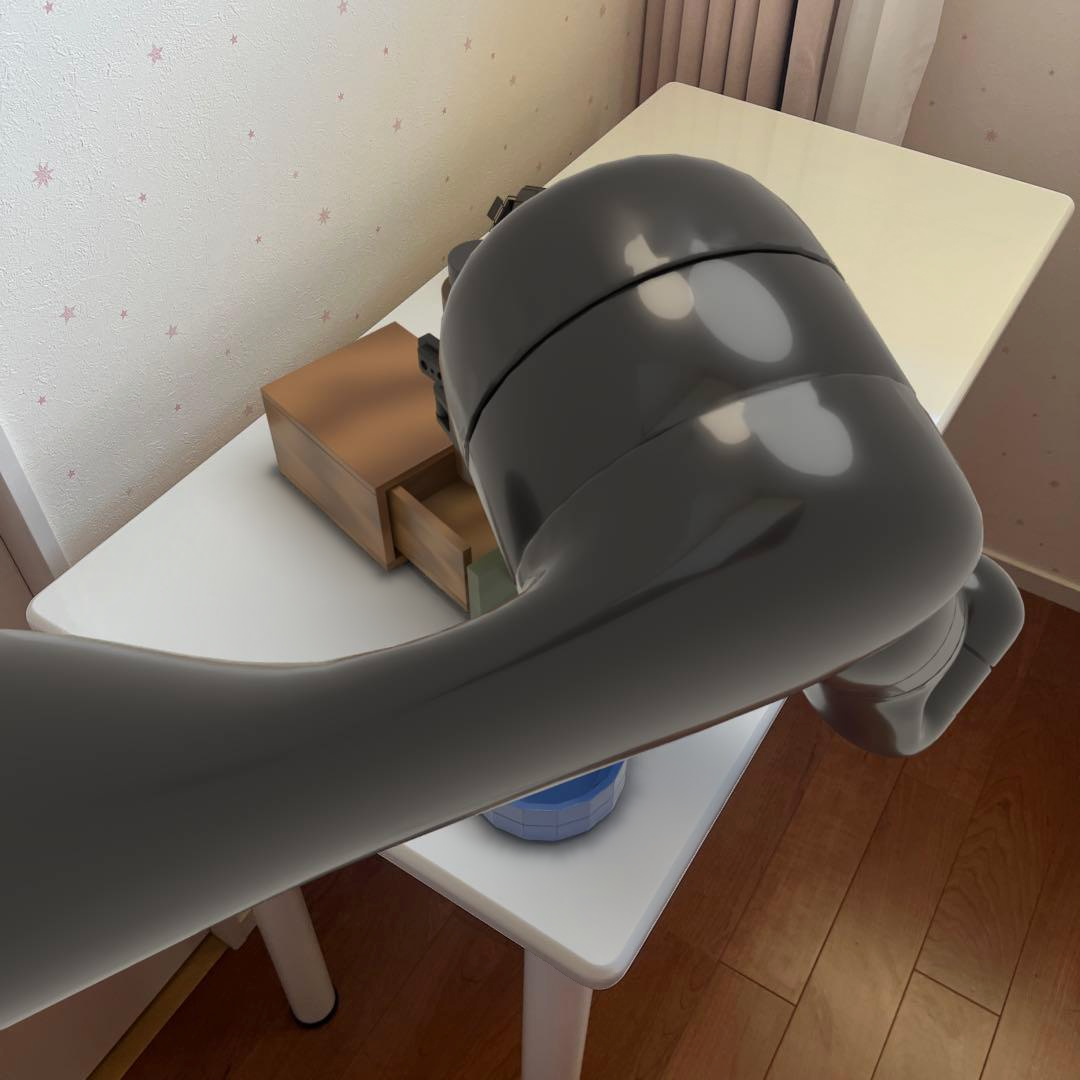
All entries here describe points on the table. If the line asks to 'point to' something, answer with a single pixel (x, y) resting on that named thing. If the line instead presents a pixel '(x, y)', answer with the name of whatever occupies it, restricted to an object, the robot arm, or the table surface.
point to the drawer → (450, 536)
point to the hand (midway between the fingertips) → (458, 330)
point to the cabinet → (357, 432)
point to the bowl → (562, 806)
